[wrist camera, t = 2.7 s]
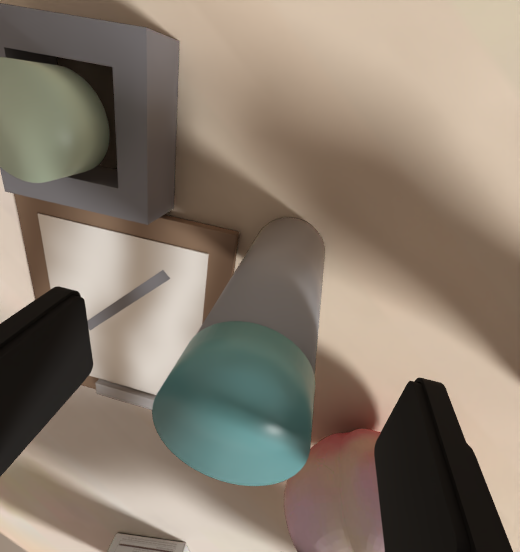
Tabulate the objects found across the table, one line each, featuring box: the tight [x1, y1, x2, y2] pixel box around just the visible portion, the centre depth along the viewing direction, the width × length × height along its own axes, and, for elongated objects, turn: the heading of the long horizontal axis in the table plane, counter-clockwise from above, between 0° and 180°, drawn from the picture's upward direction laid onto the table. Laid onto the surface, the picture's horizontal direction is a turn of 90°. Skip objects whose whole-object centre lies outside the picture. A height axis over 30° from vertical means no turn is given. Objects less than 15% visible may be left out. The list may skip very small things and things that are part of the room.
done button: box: [0, 57, 109, 183], centre depth 14 cm, size 4×4×2 cm
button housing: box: [0, 3, 179, 225], centre depth 16 cm, size 8×8×3 cm
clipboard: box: [15, 194, 239, 410], centre depth 23 cm, size 14×16×1 cm
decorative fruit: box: [284, 429, 385, 552], centre depth 20 cm, size 9×8×10 cm
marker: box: [152, 218, 325, 486], centre depth 14 cm, size 4×4×12 cm
